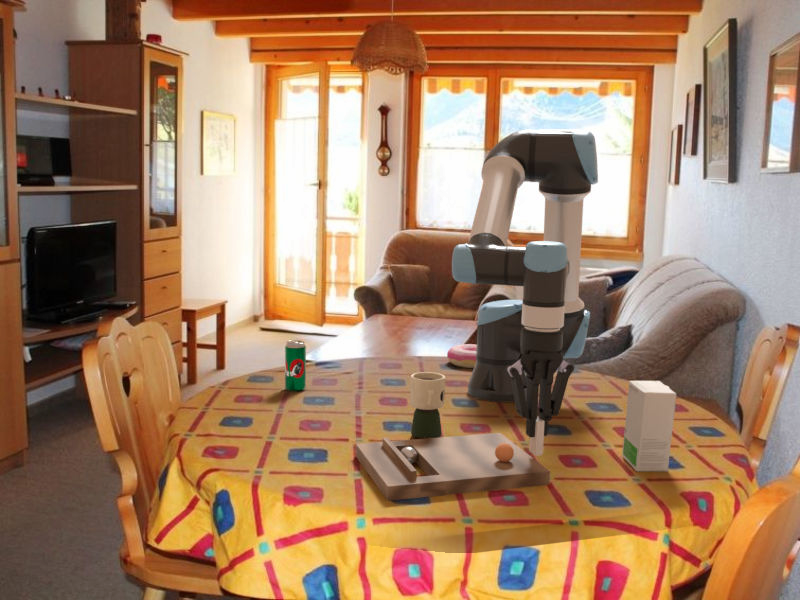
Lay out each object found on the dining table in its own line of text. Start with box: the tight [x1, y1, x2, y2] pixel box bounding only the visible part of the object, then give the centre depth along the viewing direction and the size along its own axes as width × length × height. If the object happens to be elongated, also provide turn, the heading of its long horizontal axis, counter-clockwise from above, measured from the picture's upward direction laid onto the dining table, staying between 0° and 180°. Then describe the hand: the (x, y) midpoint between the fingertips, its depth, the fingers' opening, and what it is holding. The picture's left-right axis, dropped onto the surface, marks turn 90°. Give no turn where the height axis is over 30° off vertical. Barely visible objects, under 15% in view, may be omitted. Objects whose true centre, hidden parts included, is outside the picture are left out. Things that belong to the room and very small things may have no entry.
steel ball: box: [400, 447, 417, 466], centre depth 157 cm, size 3×3×3 cm
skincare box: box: [621, 380, 677, 472], centre depth 159 cm, size 8×7×16 cm
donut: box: [446, 343, 477, 369], centre depth 238 cm, size 14×13×5 cm
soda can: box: [284, 339, 307, 392], centre depth 206 cm, size 5×5×12 cm
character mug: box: [409, 371, 446, 439], centre depth 172 cm, size 11×7×13 cm, turn 7°
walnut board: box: [355, 432, 551, 501], centre depth 155 cm, size 30×22×4 cm
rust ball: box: [495, 443, 514, 462], centre depth 153 cm, size 3×3×3 cm
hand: (535, 452), depth 154 cm, fingers closed
